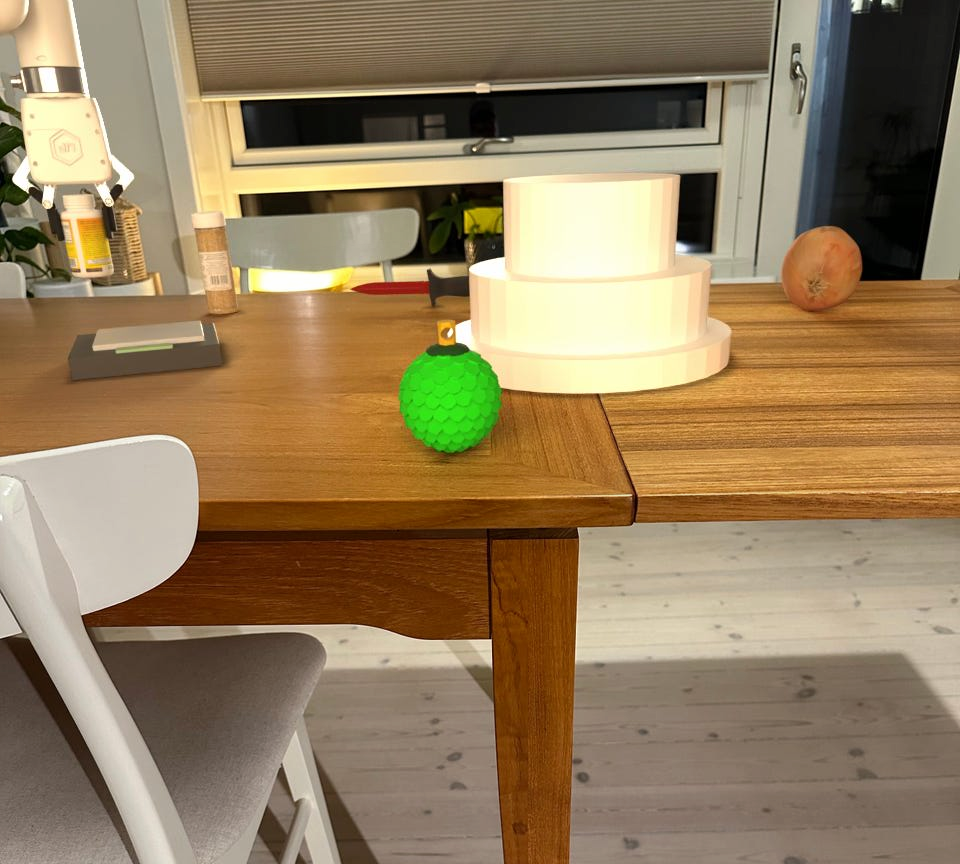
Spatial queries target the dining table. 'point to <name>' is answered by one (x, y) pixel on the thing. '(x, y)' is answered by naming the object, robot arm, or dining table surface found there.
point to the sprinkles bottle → (215, 261)
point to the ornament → (450, 395)
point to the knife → (420, 287)
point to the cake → (593, 289)
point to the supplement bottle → (85, 237)
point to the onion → (821, 268)
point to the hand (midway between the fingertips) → (86, 237)
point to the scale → (144, 350)
